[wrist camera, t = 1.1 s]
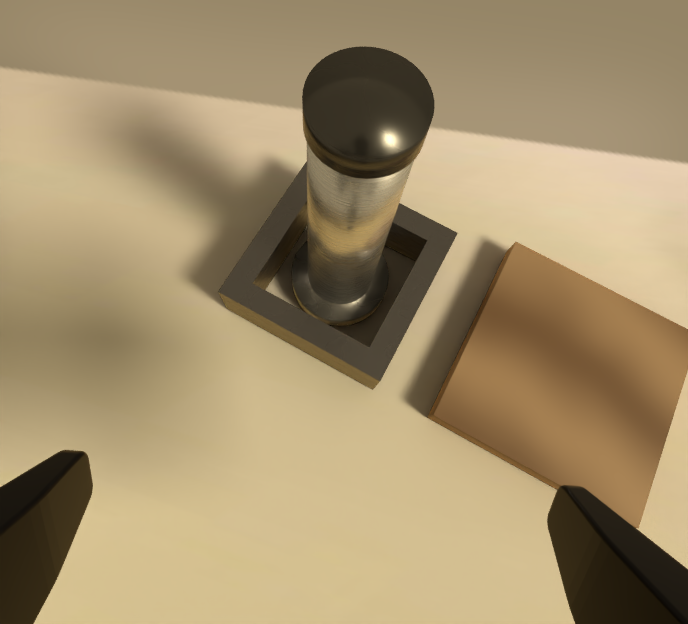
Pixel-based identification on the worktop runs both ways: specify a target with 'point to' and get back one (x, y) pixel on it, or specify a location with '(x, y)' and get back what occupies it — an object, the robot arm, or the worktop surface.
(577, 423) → the walnut pad
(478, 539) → the worktop surface
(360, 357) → the holder
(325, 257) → the capped metal cylinder
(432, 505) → the worktop surface
